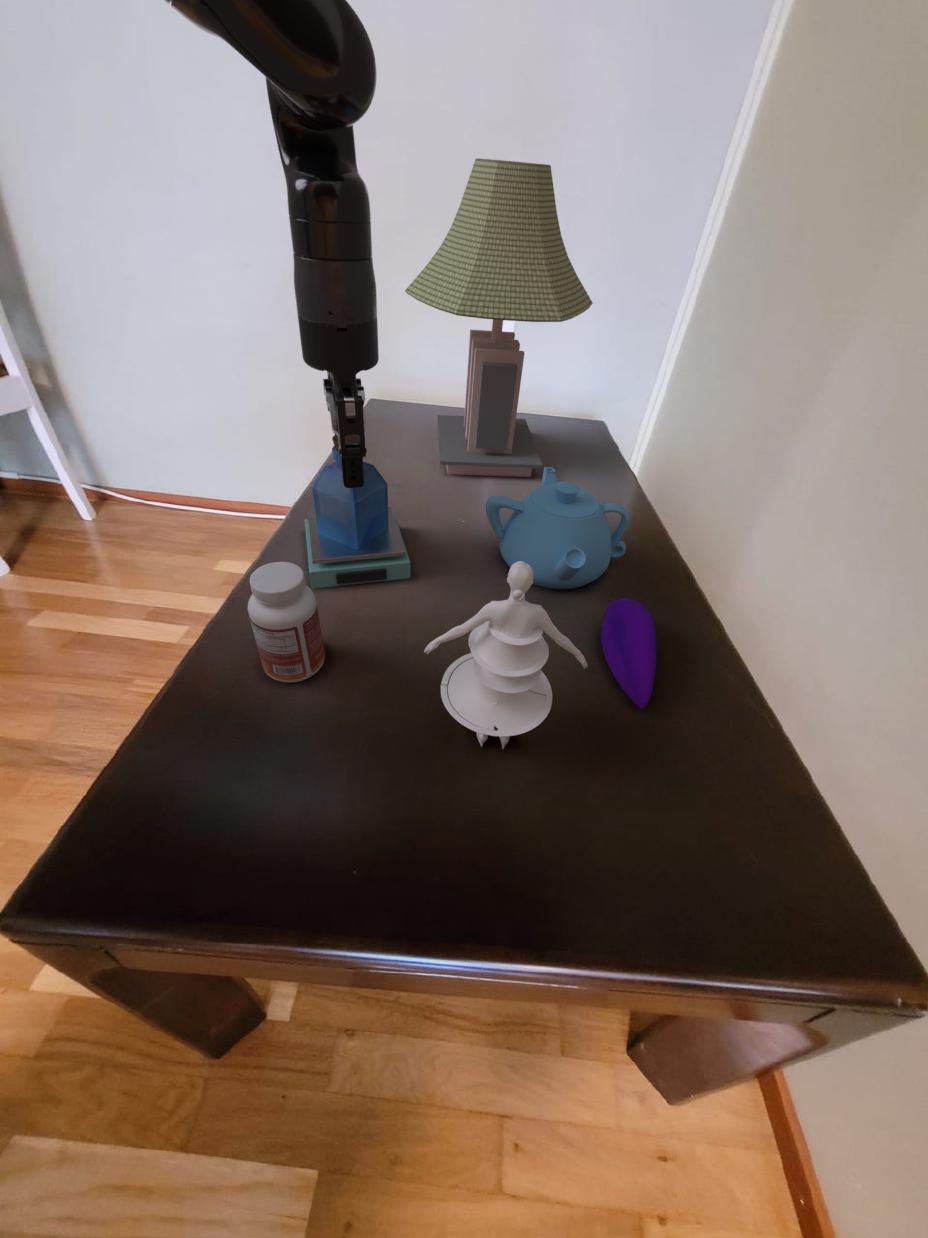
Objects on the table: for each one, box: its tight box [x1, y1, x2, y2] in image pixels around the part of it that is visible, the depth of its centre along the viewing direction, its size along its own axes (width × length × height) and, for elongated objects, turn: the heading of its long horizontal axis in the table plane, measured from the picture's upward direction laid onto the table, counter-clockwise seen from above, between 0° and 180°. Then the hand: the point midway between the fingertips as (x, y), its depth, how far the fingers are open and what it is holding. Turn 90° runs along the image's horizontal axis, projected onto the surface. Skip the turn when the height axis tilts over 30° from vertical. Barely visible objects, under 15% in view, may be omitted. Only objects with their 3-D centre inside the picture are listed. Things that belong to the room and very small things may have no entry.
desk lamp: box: [404, 158, 594, 478], centre depth 83 cm, size 26×28×40 cm
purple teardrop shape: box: [600, 597, 657, 710], centre depth 57 cm, size 5×5×15 cm
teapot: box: [485, 466, 630, 590], centre depth 68 cm, size 15×17×11 cm
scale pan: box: [306, 506, 406, 564], centre depth 68 cm, size 11×11×1 cm
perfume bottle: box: [312, 434, 389, 550], centre depth 64 cm, size 6×6×12 cm
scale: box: [304, 512, 411, 590], centre depth 69 cm, size 12×12×3 cm
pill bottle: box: [247, 561, 326, 684], centre depth 52 cm, size 6×6×11 cm
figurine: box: [423, 561, 588, 750], centre depth 44 cm, size 13×10×20 cm
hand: (349, 469), depth 62 cm, fingers open, 8 cm apart
